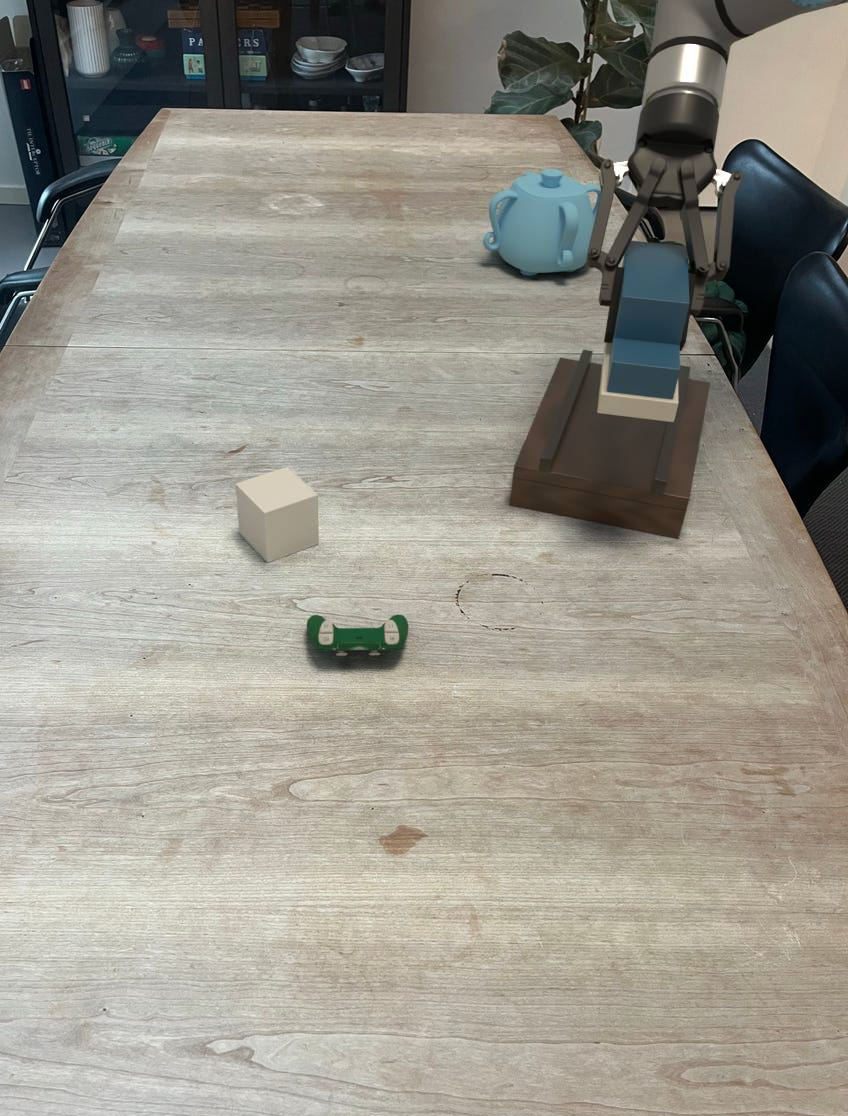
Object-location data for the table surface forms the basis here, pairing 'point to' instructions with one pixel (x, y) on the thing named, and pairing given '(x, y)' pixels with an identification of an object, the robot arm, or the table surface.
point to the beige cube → (277, 514)
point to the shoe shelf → (609, 455)
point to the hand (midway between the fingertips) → (644, 341)
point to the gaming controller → (357, 636)
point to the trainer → (647, 334)
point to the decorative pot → (543, 222)
